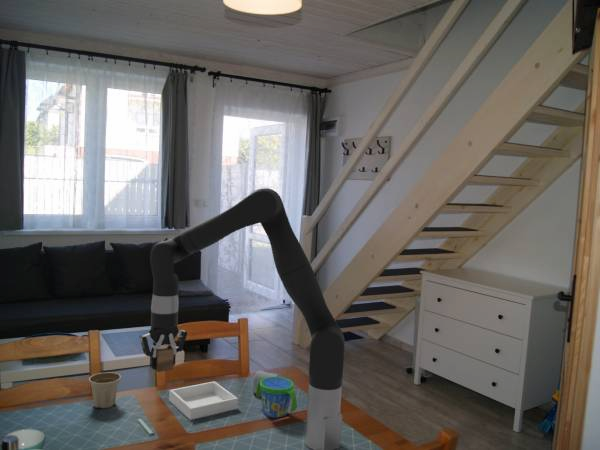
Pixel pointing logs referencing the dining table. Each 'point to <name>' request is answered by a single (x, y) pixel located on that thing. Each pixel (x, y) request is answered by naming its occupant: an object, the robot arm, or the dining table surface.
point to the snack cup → (276, 396)
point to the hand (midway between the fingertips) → (162, 367)
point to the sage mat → (145, 427)
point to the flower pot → (104, 388)
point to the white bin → (202, 400)
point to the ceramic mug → (261, 378)
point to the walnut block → (165, 358)
